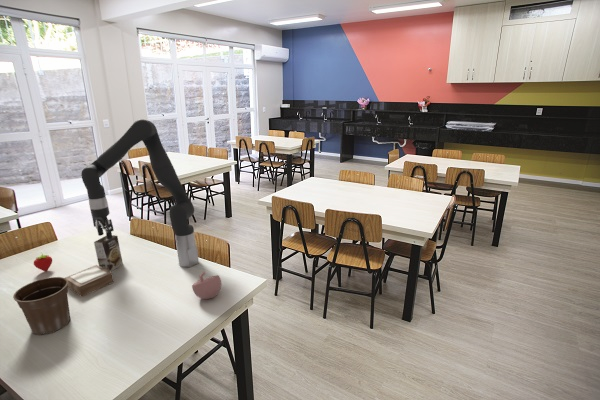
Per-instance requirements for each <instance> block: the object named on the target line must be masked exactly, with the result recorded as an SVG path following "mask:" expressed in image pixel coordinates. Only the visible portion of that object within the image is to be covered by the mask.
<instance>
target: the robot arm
mask: <svg viewBox="0 0 600 400" xmlns="http://www.w3.org/2000/svg"><path fill="white" fill-rule="evenodd" d="M141 142H143V145H144V147H145V148H146V150H147V153H148V156H149V162H150V166H151V169H152V172H153V174H154V176H155V178H156V180H157V181H158V183H159V184H160V185H161V186H162V187H163V188H164V189H166V190H167V191H168V192H169V193H170V194H171V195H172V197H173V199H174V202H175V204H173V205H171V206H170V208H169V218H170V224H171V228H172V231H173V232H174V238H175V245H176V251H177V259H178V264H179V266H180V267H182V268H191V267H194V266H196V265H197V264H199V263H200V261H199V254H198V253H199V252H198V251H199V250H198V246H197V244H196V237H195V228H194V226H193V225H192V224H189V222H188V219H189V218H191V217H192V216H193V215H194V214H195V206H194V205H193V202H192V201H191V199H190V198H189V196H188V194H187V192H186V191H185V189H184V187H183V185H182V183H181V181H180V178H179V177H178V175H177V172H176V169H175V167H174V165H173V163H172V161H171V160H170V158H169V156H168V155H169V154H167V151H166V150H165V147H164V146H163V144H162V141H161V139H160V136H159V132H158V130H157V127H156V125H155V124H154V123H153V122H152V121H150V120H147V119H143V118H140V119H137V120H135V121H134V122H133V123H132V124H131V126H130V127H129V128H128V129H127V130H126V132H125V133H124V134H123V135H122V136H121V137H120V138H119V139H118V140H117V141H116V142H114V143H113V144H112V145H111V146H110V147H109V148H107V150H105V151H103V152H102V154H100V155H99V156H98V157H97V159H95V160H94V161H92V162H91V163H90V164H89V165H87V166H86V167H84V168H83V169H82V170H81V173H80V174H81V179H82V183H83V184H84V187H85V189H86V192H87V197H88V204H89V205H88V206H89V209H90V213H91V219H92V223H93V227H95V228H96V230H97V234H98V236H99V237H101V236H103V235H104V231H105V236H106V235H107V239H108V240H109V239H112V235H113V233H112V232H114V229H115V228H114V225H113V221H112V219H111V218H110V219H109V218H108V216H109V215H110V208H109V203H108V199H107V196H106V189H105V188H104V186H103V185H102V184H101V180H100V178H101V177H102V176H103V175H104V174H105V173H106V172H107V171H109V169H111V168H113V167H114V166H116V164H118V163H119V162H120V161H121V160H122V159H123V158H124V157H125V156H126V155H127V154H128V152H129V151H130V150H131V149H132V148H133V147H134V146H135V145H137V144H139V143H141Z"/></svg>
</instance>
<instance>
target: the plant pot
mask: <svg viewBox="0 0 600 400" xmlns="http://www.w3.org/2000/svg"><path fill="white" fill-rule="evenodd" d="M67 285H68V280H67V279H65V277H61V276H53V277H51V276H50V277H47V278H42V279H40V278H39V279H37V280H34V281H32V282H29V283H27V284H26V285H23V286H21V287H20V288H19V289H17V290H16V291H15V292H14V294H13V295H12V296H13V297H12V298H13V300H14V301H15V302H16V303H17V305H18V307H19V308H20V309H21V310H22V314H23V315H24V317H25V320H26V322H27V324H28V326H29V329H30V331H31V332H32V334H34V335H38V336H41V335H44V334H48V335H49V334H52V333H55V332H56V331H59V330H61V329H63V328H64V327H65V326H67V325H68V324H69V322H70V320H71V313H70V306H69V298H68V292H69V291H68V290H69V288H67Z"/></svg>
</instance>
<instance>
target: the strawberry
mask: <svg viewBox="0 0 600 400" xmlns="http://www.w3.org/2000/svg"><path fill="white" fill-rule="evenodd" d="M52 263H53V258H52V256H50V255H47V254H43V253H41V255H40V256H37V257H36V258H35V260H34V261H33V265H34V267H36V268H37V269H38V270H40V271H43V272H47V271H48V270H49V268H50V267H51V266H52Z"/></svg>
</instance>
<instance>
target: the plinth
mask: <svg viewBox="0 0 600 400" xmlns="http://www.w3.org/2000/svg"><path fill="white" fill-rule="evenodd" d="M64 278H65V279H67V280H68V285H67V288H68V290H70V291H72V292H74V293H75V294H77V295H78V296H80V297H81V298H82V297H85V296H87V295H89V294H91V293H93V292H96V291H97V290H100V289H102V288H104V287H107V286H109V285H111V284H113V283H114V282H115V281H114V276H113V273H112V271H111V272H109V271H107V270H106V269H104V268H102V267H100V266H99V264H98V265H97V264H95V265H93V266H90V267H88V268H86V269H83V270H81V271H78V272H76V273H73V274H71V275H68V276H66V277H64Z"/></svg>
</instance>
